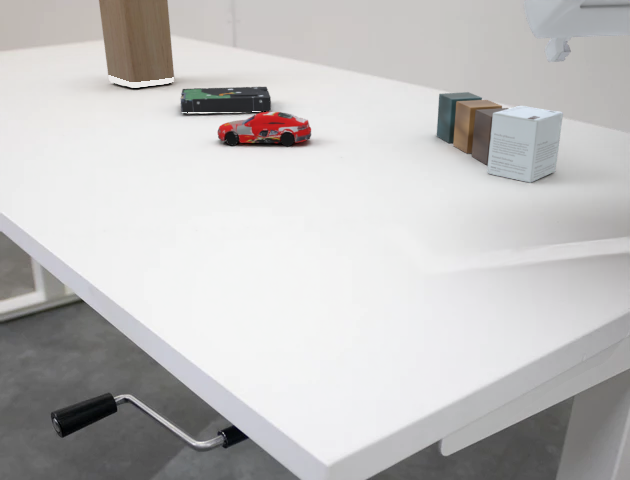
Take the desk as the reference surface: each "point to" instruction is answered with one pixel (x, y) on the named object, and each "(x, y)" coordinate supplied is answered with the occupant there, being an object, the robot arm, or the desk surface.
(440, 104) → the block row
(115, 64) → the block
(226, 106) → the disk drive
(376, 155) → the desk surface
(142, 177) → the desk surface
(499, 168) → the white cardboard box
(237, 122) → the race car
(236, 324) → the desk surface
